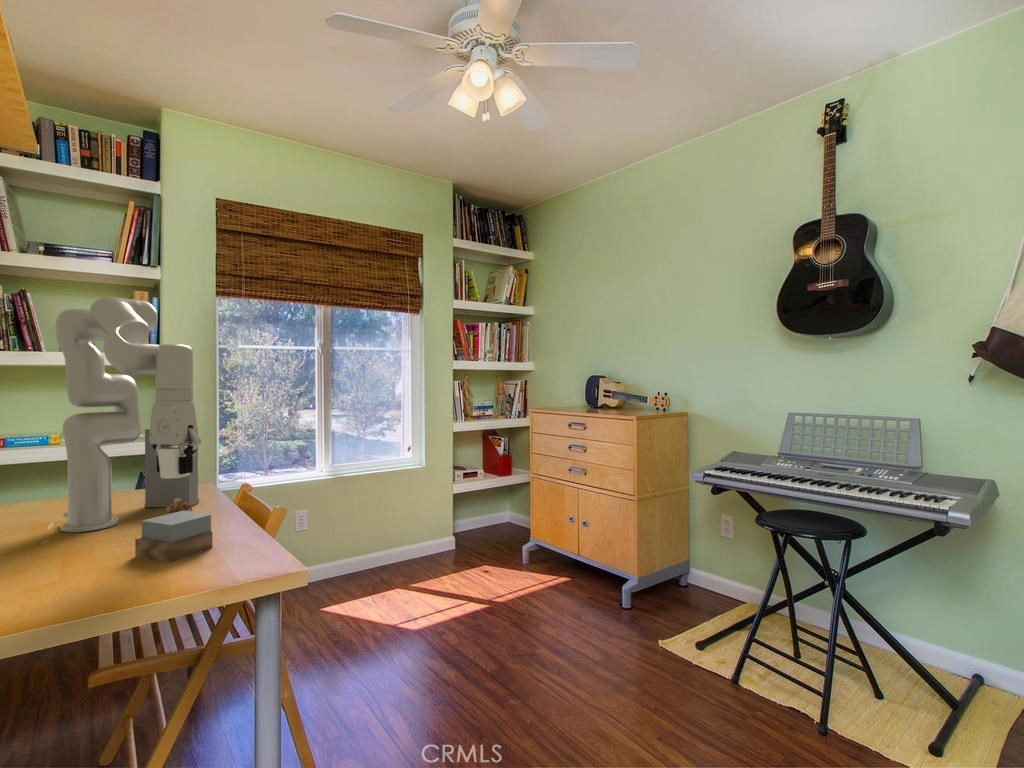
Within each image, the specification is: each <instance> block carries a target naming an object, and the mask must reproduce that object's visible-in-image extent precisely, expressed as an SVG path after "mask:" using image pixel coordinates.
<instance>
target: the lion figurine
mask: <svg viewBox="0 0 1024 768" xmlns="http://www.w3.org/2000/svg"><path fill="white" fill-rule="evenodd" d="M165 510H166V512H168V514H171V513H175V512H180V511H188V512H193V508H192V506H190V505H189V504H188V503H187V502H186V501H185V500H183V499H181V498H177V499H174V500H173V503H172V504H171V505H170V506H169V507H165Z"/></svg>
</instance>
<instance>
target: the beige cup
mask: <svg viewBox="0 0 1024 768" xmlns="http://www.w3.org/2000/svg"><path fill="white" fill-rule="evenodd" d="M184 448H185V450H186V449H187V446H185V447H184ZM157 450H158V459H159V467H160V476H161V478H165V479H170V478H181V477H186V476H188V475H189V473H186V474H179V457H181V454H180V451H179V448H178V446H166V447H160V448H157Z"/></svg>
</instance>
